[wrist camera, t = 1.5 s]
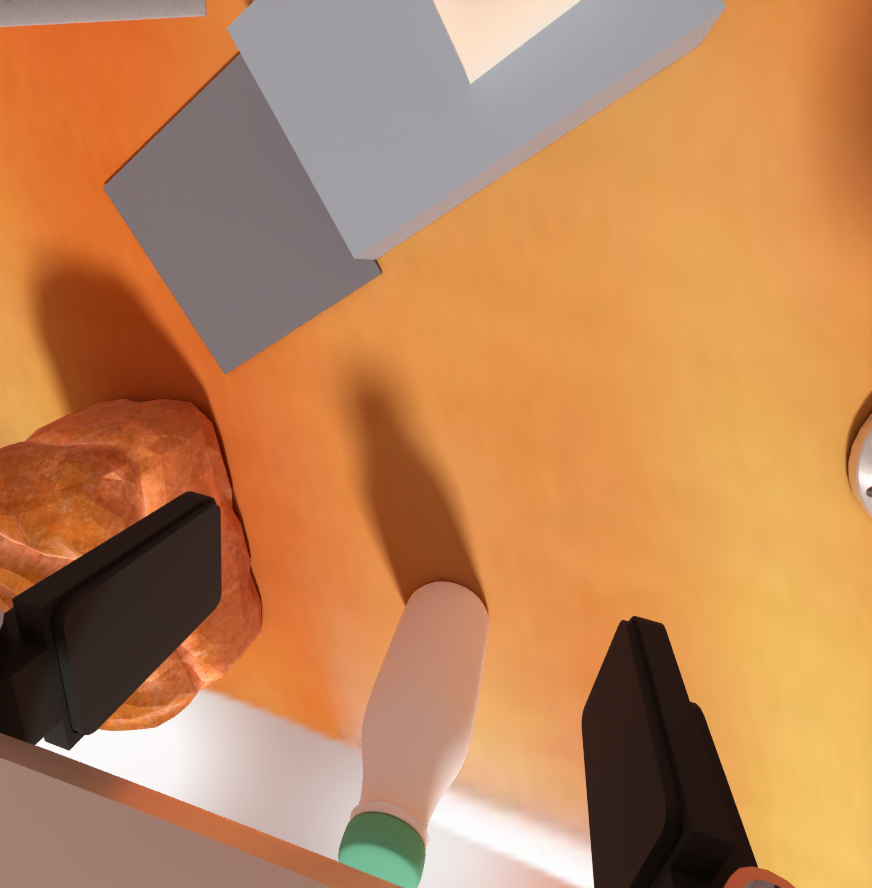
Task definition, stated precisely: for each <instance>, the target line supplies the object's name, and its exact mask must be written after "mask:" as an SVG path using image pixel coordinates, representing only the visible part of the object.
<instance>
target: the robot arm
mask: <svg viewBox="0 0 872 888" xmlns="http://www.w3.org/2000/svg"><path fill="white" fill-rule="evenodd" d="M848 465H849V481H850V485H851V489H852V492H853V495H854V496H855V498H856V500H857V501H858V503H859V505H860V506H861V508H862V509H863V510H864V511H865V512H866V513H867V514H868V515H869V516H870V517H871V518H872V413H871V414H870V416H869V417H868V419H867V420H866V421H865V423H864V424H863V425H862V427H861V428H860V430H859V432H858V435H857V437H856V439H855V441H854V443H853V445H852V449H851V454H850V458H849V462H848ZM221 595H222V571H221V509H220V507H219V506H218V505H216V501H215V499H214V498H213V497H210V496H207V495H203V494H200V493H196V492H193V491H187V492H185V493H183V494H181V495H180V496H178V497H177V498H175V499H173V500H172V501H170V502H168V503H167V504H165V505H164V506H162V507H160V508H159V509H157V510H155V511H154V512H152V513H151V514H149V515H147V516H146V517H144V518H142V519H141V520H139V521H138V522H136V523H134V524H133V525H131V526H129V527H128V528H126V529H125V530H123V531H121V532H120V533H118V534H116V535H115V536H113V537H112V538H110V539H108V540H107V541H105V542H103V543H102V544H100V545H99V546H97V547H95V548H94V549H92V550H90V551H89V552H87V553H85V554H84V555H82V556H81V557H79V558H77V559H76V560H74V561H72V562H71V563H69V564H68V565H66V566H64V567H63V568H61V569H59V570H58V571H56V572H55V573H53V574H51V575H50V576H48V577H46V578H45V579H43V580H42V581H40V582H38V583H37V584H35V585H33V586H32V587H30V588H29V589H27V590H25V591H24V592H22V593H20V594H19V595H17V596H16V597H14V598H12V602H13V606H14V607H13V608H12V609H10V610H8V611H7V612H5V613H4V614H3V612H2V611H1V609H0V888H403V887H401V886H398V885H396V884H393V883H391V882H388V881H385V880H383V879H380V878H378V877H375V876H373V875H370V874H368V873H365V872H363V871H360V870H358V869H355V868H353V867H350V866H348V865H345V864H342V863H340V862H337V861H335V860H332V859H330V858H327V857H325V856H322V855H319V854H317V853H314V852H312V851H309V850H306V849H304V848H301V847H299V846H296V845H294V844H291V843H289V842H286V841H283V840H281V839H278V838H276V837H273V836H271V835H268V834H265V833H263V832H260V831H258V830H255V829H253V828H250V827H247V826H245V825H242V824H240V823H237V822H235V821H232V820H229V819H227V818H224V817H222V816H219V815H217V814H214V813H211V812H209V811H206V810H203V809H201V808H198V807H196V806H193V805H191V804H188V803H186V802H183V801H180V800H178V799H175V798H173V797H170V796H167V795H165V794H162V793H160V792H157V791H154V790H151V789H149V788H146V787H144V786H141V785H138V784H136V783H133V782H131V781H128V780H125V779H123V778H120V777H118V776H115V775H112V774H110V773H107V772H104V771H102V770H99V769H97V768H94V767H91V766H89V765H86V764H83V763H81V762H78V761H75V760H73V759H70V758H67V757H65V756H62V755H60V754H57V753H54V752H52V751H49V750H46V749H43V748H41V747H38V746H35V745H36V743H38V742H39V741H40V740H41V739H42V738H43V737H44V739H45V741H46V742H48V743H51V744H53V745H56V746H59V747H61V748H64V749H66V750H70V749H71V748H72V747H73V746H74V745H75V744H76V743H77V742H78V741H79V740H80V739H81V738H82V737H83V736H84V735H89V734H92V733H93V732H95V731H96V730H97V729H99V728H100V727H101V726H102V725H103V724H104V723H105V722H106V721H107V719H108V718H109V717H110V716H111V715H112V714H113V713H114V712H115V711H116V710H117V709H118V708H119V707H120V706H121V705H122V704H123V703H124V702H125V701H126V700H127V699H128V698H129V697H130V696H131V695H132V694H133V693H134V692H135V691H136V690H137V689H138V688H139V687H140V686H141V685H142V684H143V683H144V682H145V681H146V680H147V679H148V677H149V676H150V675H151V674H152V673H153V672H154V671H155V670H156V669H157V668H158V667H159V666H160V665H161V664H162V663H163V662H164V661H165V660H166V659H167V658H168V657H169V656H170V655H171V654H172V653H173V652H174V651H175V650H176V649H177V648H178V647H179V646H180V645H181V644H182V643H183V642H184V641H185V640H186V639H187V638H188V637H189V636H190V634H191V633H192V632H193V631H194V630H195V629H196V628H197V627H198V626H199V625H200V624H201V623H202V622H203V621H204V620H205V619H206V618H207V617H208V616H209V615H210V614H211V613H212V612H213V611H214V610H215V609H216V607H217V606H218V604H219V602H220V599H221ZM582 737H583V750H584V762H585V775H586V788H587V800H588V813H589V826H590V838H591V851H592V864H593V877H594V888H795V887H794V886H793V885H792V884H790V883H789V882H788V881H787V880H785V879H783V878H781V877H779V876H778V875H776V874H774V873H772V872H770V871H768V870H765V869H761V868H758V866H757V863H756V860H755V857H754V855H753V852H752V849H751V846H750V843H749V841H748V838H747V835H746V832H745V829H744V826H743V824H742V821H741V818H740V815H739V812H738V810H737V807H736V804H735V801H734V798H733V796H732V793H731V790H730V787H729V784H728V781H727V779H726V776H725V773H724V770H723V767H722V765H721V762H720V759H719V756H718V753H717V751H716V748H715V745H714V742H713V739H712V736H711V734H710V731H709V728H708V725H707V722H706V720H705V717H704V715H703V712H702V710H701V708H700V707H699V706H698V705H697V704H696V703H693V702H690V701H689V698H688V695H687V692H686V689H685V686H684V683H683V680H682V677H681V674H680V671H679V668H678V665H677V662H676V659H675V656H674V653H673V650H672V647H671V644H670V641H669V638H668V635H667V632H666V629H665V627H664V625H663V624H662V623H658V622H655V621H651V620H648V619H644V618H641V617H637V616H633V617H632V618H631V619H630V620H629V621H625V620H622V621H621V622H620V624H619V626H618V628H617V630H616V633H615V635H614V638H613V640H612V642H611V645H610V647H609V650H608V652H607V654H606V657H605V659H604V662H603V664H602V666H601V669H600V671H599V673H598V676H597V678H596V681H595V683H594V685H593V688H592V690H591V693H590V695H589V697H588V700H587V702H586V705H585V707H584V710H583V715H582Z"/></svg>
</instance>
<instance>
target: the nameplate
mask: <svg viewBox="0 0 872 888" xmlns="http://www.w3.org/2000/svg"><path fill="white" fill-rule="evenodd" d="M206 14H207V12H206V2H205V0H0V27H10V26H29V25H48V24H66V23H85V22H104V21H122V20H141V19H160V18H178V17H197V16H205V15H206Z"/></svg>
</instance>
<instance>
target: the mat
mask: <svg viewBox="0 0 872 888" xmlns="http://www.w3.org/2000/svg"><path fill="white" fill-rule="evenodd" d="M103 188H104V190H105V192H106V193H107V195H108V196H109V198H110V199H111V201H112V202H113V204H114V205H115V207H116V208H117V210H118V211H119V213H120V215H121V216H122V218H123V219H124V221H125V222H126V224H127V225H128V227H129V228H130V230H131V231H132V233H133V234H134V236H135V237H136V239H137V241H138V242H139V244H140V245H141V247H142V248H143V250H144V251H145V253H146V254H147V256H148V257H149V259H150V260H151V262H152V263H153V265H154V267H155V268H156V270H157V271H158V273H159V274H160V276H161V277H162V279H163V280H164V282H165V283H166V285H167V286H168V288H169V290H170V291H171V293H172V294H173V296H174V297H175V299H176V300H177V302H178V303H179V305H180V306H181V308H182V309H183V311H184V312H185V314H186V316H187V317H188V319H189V320H190V322H191V323H192V325H193V326H194V328H195V329H196V331H197V332H198V334H199V335H200V337H201V339H202V340H203V342H204V343H205V345H206V346H207V348H208V349H209V351H210V352H211V354H212V355H213V357H214V358H215V360H216V361H217V363H218V365H219V366H220V368H221V369H222V371H223V372H224V374H226V373H228V372H230V371H231V370H233V369H234V368H236V367H238V366H239V365H241V364H242V363H244V362H245V361H247V360H248V359H250V358H251V357H253V356H255V355H256V354H258V353H259V352H261V351H262V350H264V349H265V348H267V347H268V346H270V345H272V344H273V343H275V342H276V341H278V340H279V339H281V338H282V337H284V336H286V335H287V334H289V333H290V332H292V331H293V330H295V329H296V328H298V327H299V326H301V325H303V324H304V323H306V322H307V321H309V320H310V319H312V318H313V317H315V316H317V315H318V314H320V313H321V312H323V311H324V310H326V309H327V308H329V307H330V306H332V305H334V304H335V303H337V302H338V301H340V300H341V299H343V298H344V297H346V296H347V295H349V294H351V293H352V292H354V291H355V290H357V289H358V288H360V287H361V286H363V285H365V284H366V283H368V282H369V281H371V280H372V279H374V278H375V277H377V276H378V275H380V274H382V271H381V270H380V268H379V266H378V264H377V262H376V260H368V259H354V257H353V255H352V254H351V252H350V250H349V248H348V246H347V245H346V243H345V241H344V239H343V237H342V236H341V234H340V232H339V230H338V228H337V227H336V225H335V223H334V221H333V219H332V218H331V216H330V214H329V212H328V210H327V209H326V207H325V205H324V203H323V201H322V200H321V198H320V196H319V194H318V192H317V191H316V189H315V187H314V185H313V183H312V181H311V180H310V178H309V176H308V174H307V172H306V171H305V169H304V167H303V165H302V163H301V162H300V160H299V158H298V156H297V154H296V153H295V151H294V149H293V147H292V145H291V144H290V142H289V140H288V138H287V136H286V135H285V133H284V131H283V129H282V127H281V126H280V124H279V122H278V120H277V118H276V116H275V115H274V113H273V111H272V109H271V107H270V106H269V104H268V102H267V100H266V98H265V97H264V95H263V93H262V91H261V89H260V88H259V86H258V84H257V82H256V80H255V79H254V77H253V75H252V73H251V71H250V70H249V68H248V66H247V64H246V62H245V61H244V59H243V57H242V55H241V53H240V54H239V55H238V56H237V57H236V58H235V59H234V60H233V61H232V62H231V63H230V64H229V65H228V66H227V67H226V68H225V69H224V70H223V71H222V72H221V73H220V74H219V75H217V76H216V77H215V78H214V79H213V80H212V81H211V82H210V83H209V84H208V85H207V86H206V87H205V88H204V89H203V90H202V91H201V92H200V93H199V94H198V95H197V96H196V97H195V98H194V99H193V100H192V101H191V102H190V103H189V104H188V105H187V106H186V107H185V108H184V109H183V110H182V111H181V112H180V113H179V114H178V115H176V116H175V117H174V118H173V119H172V120H171V121H170V122H169V123H168V124H167V125H166V126H165V127H164V128H163V129H162V130H161V131H160V132H159V133H158V134H157V135H156V136H155V137H154V138H153V139H152V140H151V141H150V142H149V143H148V144H147V145H146V146H145V147H144V148H143V149H142V150H141V151H140V152H139V153H138V154H137V155H135V156H134V157H133V158H132V159H131V160H130V161H129V162H128V163H127V164H126V165H125V166H124V167H123V168H122V169H121V170H120V171H119V172H118V173H117V174H116V175H115V176H114V177H113V178H112V179H111V180H110V181H109V182H108V183H107V184H106V185H105V186H104V187H103Z"/></svg>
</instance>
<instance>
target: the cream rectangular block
mask: <svg viewBox="0 0 872 888" xmlns="http://www.w3.org/2000/svg"><path fill="white" fill-rule="evenodd" d="M432 1H433V4H434V6H435V8H436V10H437V12H438V15H439V17H440V19H441V21H442V23H443V25H444V28H445V30H446V32H447V34H448V36H449V39H450V41H451V43H452V45H453V47H454V49H455V52H456V54H457V56H458V58H459V60H460V62H461V65H462V67H463V69H464V71H465V73H466V76H467V78H468V80H469V82H470V84H471V83H473V82H474V81H475V80H476V79H478V78H479V77H480V76H482V75H483V74H484V73H486V72H487V71H488V70H490V69H491V68H492V67H494V66H495V65H496V64H498V63H499V62H500V61H502V60H503V59H504V58H505V57H507V56H508V55H509V54H511V53H512V52H513V51H515V50H516V49H517V48H519V47H520V46H521V45H523V44H524V43H525V42H527V41H528V40H529V39H531V38H532V37H533V36H534V35H536V34H537V33H538V32H540V31H541V30H542V29H544V28H545V27H546V26H548V25H549V24H550V23H552V22H553V21H554V20H556V19H557V18H558V17H560V16H561V15H562V14H564V13H565V12H566V11H567V10H569V9H570V8H571V7H573V6H574V5H575V4H577V3H578V2H579V1H581V0H432Z"/></svg>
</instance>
